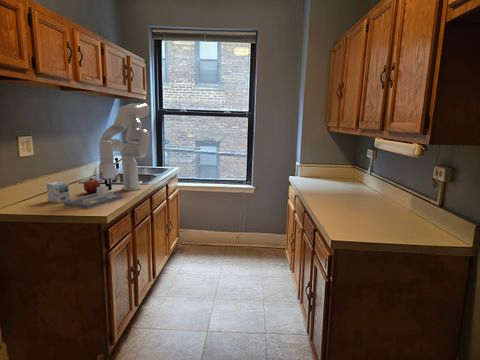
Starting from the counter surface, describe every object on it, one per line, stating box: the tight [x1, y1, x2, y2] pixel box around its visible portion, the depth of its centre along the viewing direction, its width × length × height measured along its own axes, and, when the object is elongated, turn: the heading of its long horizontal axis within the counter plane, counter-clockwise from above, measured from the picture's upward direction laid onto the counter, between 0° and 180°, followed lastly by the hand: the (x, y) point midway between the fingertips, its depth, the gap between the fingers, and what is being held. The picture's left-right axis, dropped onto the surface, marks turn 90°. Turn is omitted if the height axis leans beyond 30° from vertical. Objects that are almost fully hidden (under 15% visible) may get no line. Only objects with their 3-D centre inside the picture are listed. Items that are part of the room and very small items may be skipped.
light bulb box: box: [46, 181, 71, 204], centre depth 189 cm, size 11×7×11 cm, turn 66°
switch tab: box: [96, 185, 110, 196], centre depth 194 cm, size 4×5×5 cm
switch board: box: [63, 191, 123, 209], centre depth 189 cm, size 26×18×4 cm
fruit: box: [83, 177, 101, 194], centre depth 211 cm, size 11×10×10 cm
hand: (108, 189), depth 199 cm, fingers closed
